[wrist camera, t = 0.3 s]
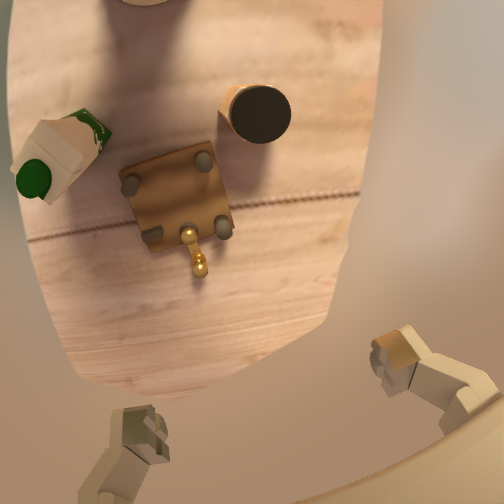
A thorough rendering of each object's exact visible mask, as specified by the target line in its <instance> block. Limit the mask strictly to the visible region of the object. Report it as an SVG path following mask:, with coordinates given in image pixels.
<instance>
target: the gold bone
mask: <svg viewBox="0 0 504 504" xmlns="http://www.w3.org/2000/svg"><path fill="white" fill-rule="evenodd" d="M181 240H182V242H183V243H184V244H186V245H187V246H188V248H189V251H190V254H191V256H192V266H193V275H194V276H195V277H196V278H204V277H206V276H207V274H208V269H207V263H206V258H205V256H204V255H202V253H201V250H200V247H199V244H198V242H197V230H196V228H195V227H194V226H191V225H187V226H184V227H183V228H182V230H181Z"/></svg>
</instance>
